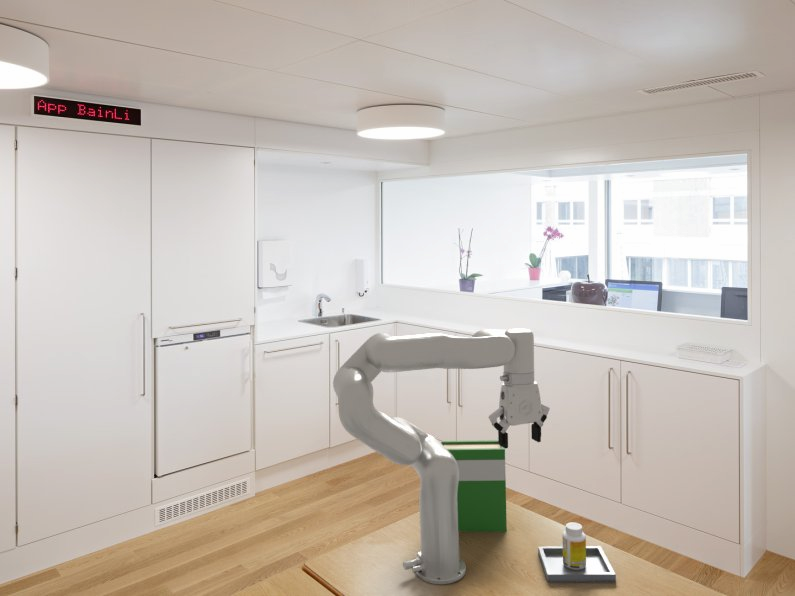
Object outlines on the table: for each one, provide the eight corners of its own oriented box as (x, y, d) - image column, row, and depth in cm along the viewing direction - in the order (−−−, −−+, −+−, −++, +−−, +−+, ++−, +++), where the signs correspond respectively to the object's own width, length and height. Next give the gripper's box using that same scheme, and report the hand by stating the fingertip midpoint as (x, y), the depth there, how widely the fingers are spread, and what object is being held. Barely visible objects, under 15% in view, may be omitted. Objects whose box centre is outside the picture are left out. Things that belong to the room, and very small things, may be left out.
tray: (547, 582, 142) (547, 574, 142) (538, 553, 155) (538, 546, 154) (615, 582, 141) (615, 574, 141) (600, 553, 154) (600, 546, 153)
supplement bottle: (590, 565, 147) (590, 526, 146) (577, 573, 144) (577, 533, 143) (571, 556, 152) (570, 518, 151) (558, 564, 148) (557, 525, 147)
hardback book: (444, 531, 168) (441, 450, 166) (443, 519, 176) (441, 441, 173) (506, 531, 167) (504, 449, 164) (503, 519, 174) (502, 440, 172)
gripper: (496, 385, 142) (498, 454, 144) (556, 376, 149) (557, 442, 150) (481, 378, 149) (482, 444, 151) (539, 371, 156) (540, 434, 157)
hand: (520, 443), depth 151 cm, fingers open, 9 cm apart
